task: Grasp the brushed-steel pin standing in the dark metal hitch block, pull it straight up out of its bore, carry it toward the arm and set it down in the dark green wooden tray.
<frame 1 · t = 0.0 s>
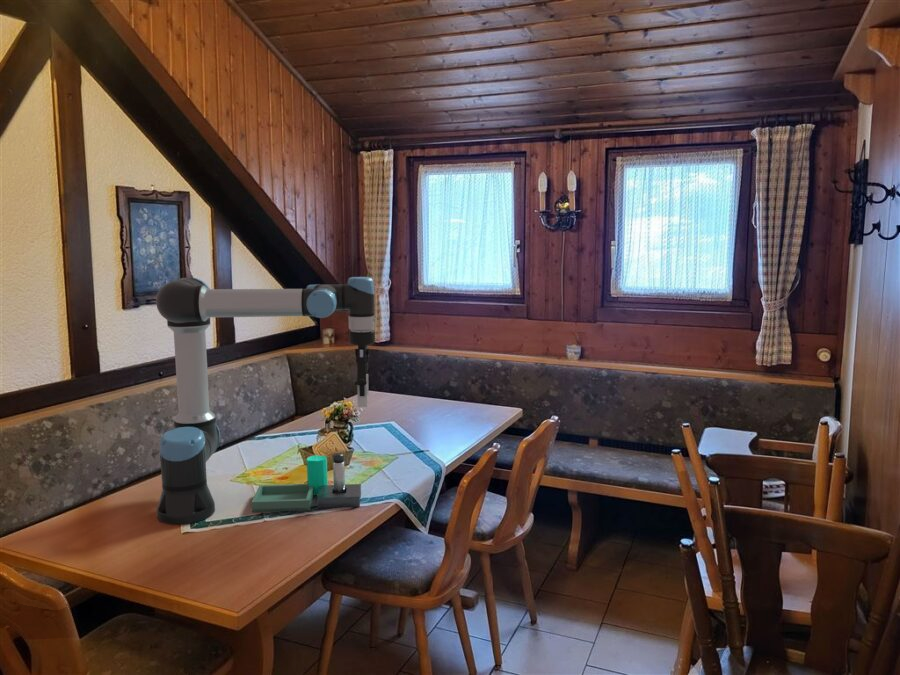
hand: (363, 400, 214), 28 cm above the table, fingers open, 13 cm apart
pin: (339, 477, 209), in the hitch block
candle: (317, 492, 217), on the table, touching hitch block, tray
tray: (284, 502, 209), on the table
hitch block: (339, 500, 211), on the table
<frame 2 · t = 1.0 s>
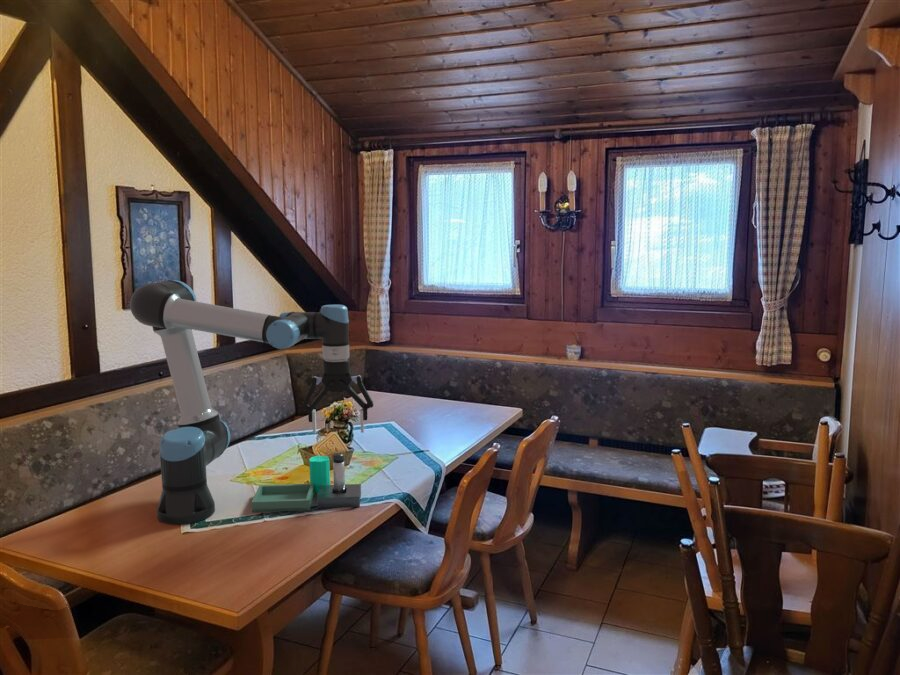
hand: (338, 432, 207), 21 cm above the table, fingers open, 13 cm apart
candle: (320, 492, 219), on the table, touching tray
everything else where it was.
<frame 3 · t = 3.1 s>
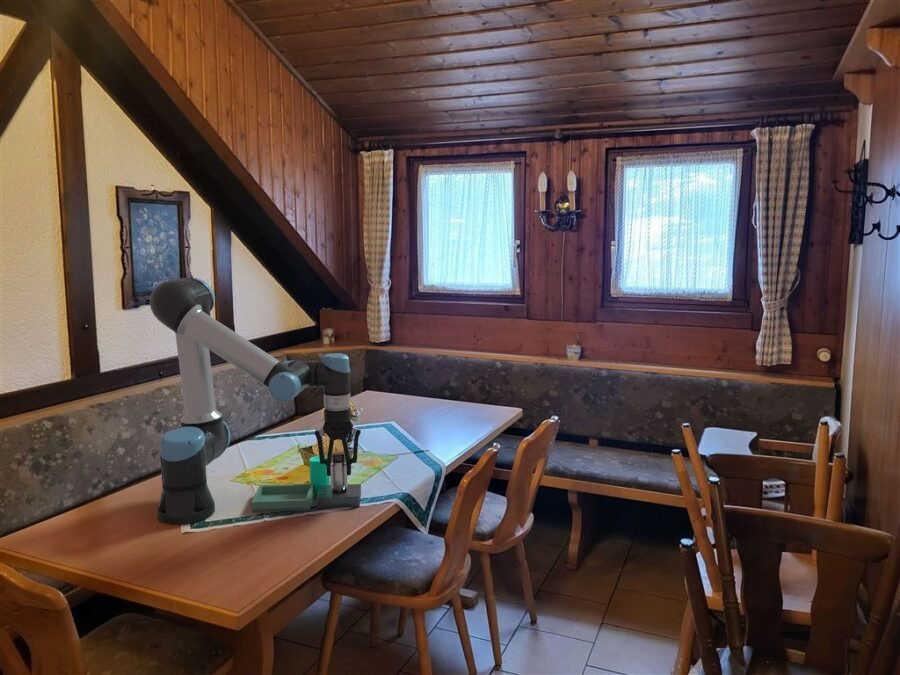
hand: (339, 485, 210), 5 cm above the table, fingers closed on pin, 3 cm apart
pin: (339, 477, 209), in the hitch block, touching gripper
everything else where it was.
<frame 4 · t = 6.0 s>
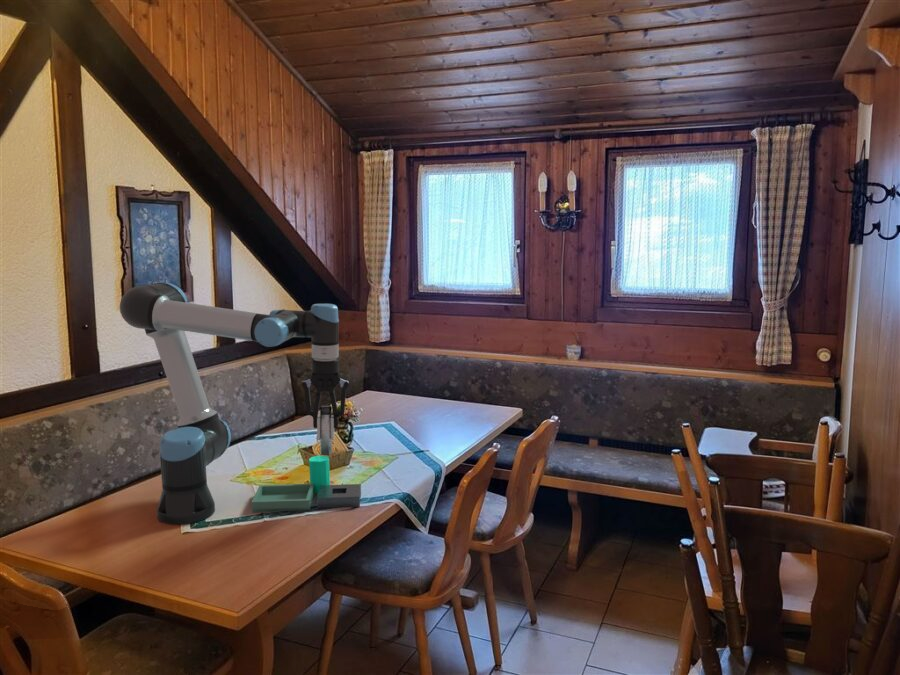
hand: (325, 438, 207), 19 cm above the table, fingers closed on pin, 3 cm apart
pin: (325, 430, 207), point 21 cm above the table, touching gripper
everything else where it was.
when the fingers open (7 cm above the table, at t = 9.2 s): pin drops 1 cm, resting on tray.
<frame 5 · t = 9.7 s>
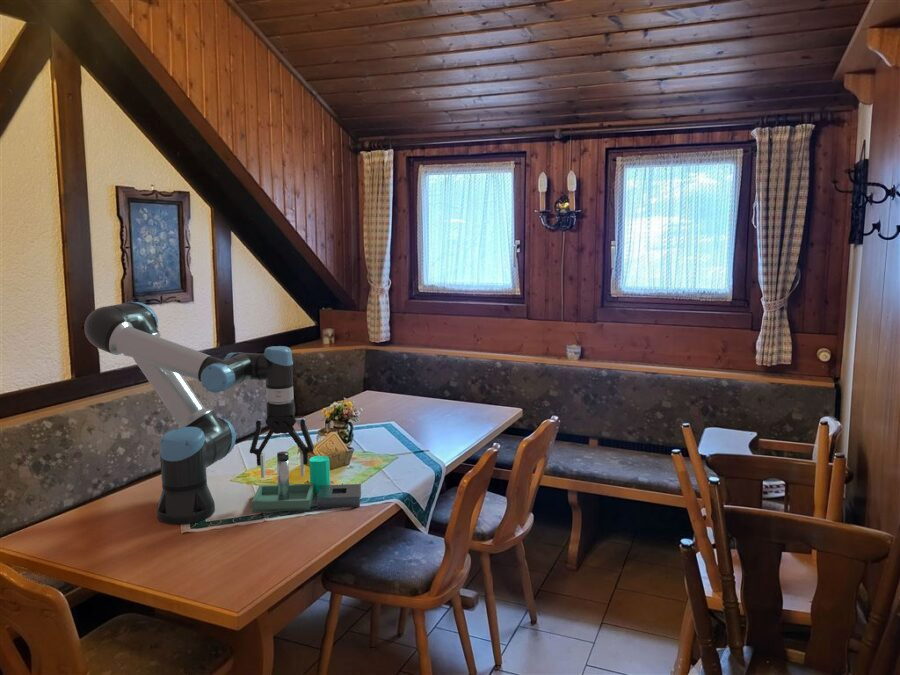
hand: (283, 475, 208), 8 cm above the table, fingers open, 10 cm apart
pin: (283, 476, 208), in the tray, point 8 cm above the table
everything else where it was.
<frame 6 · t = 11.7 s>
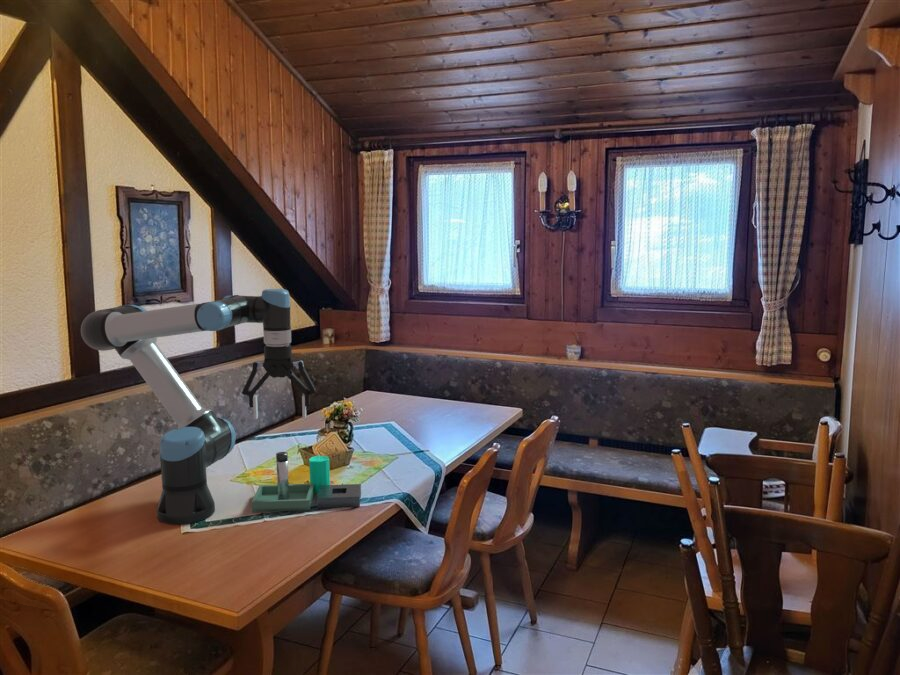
hand: (280, 417, 205), 25 cm above the table, fingers open, 13 cm apart
nothing on the table moved.
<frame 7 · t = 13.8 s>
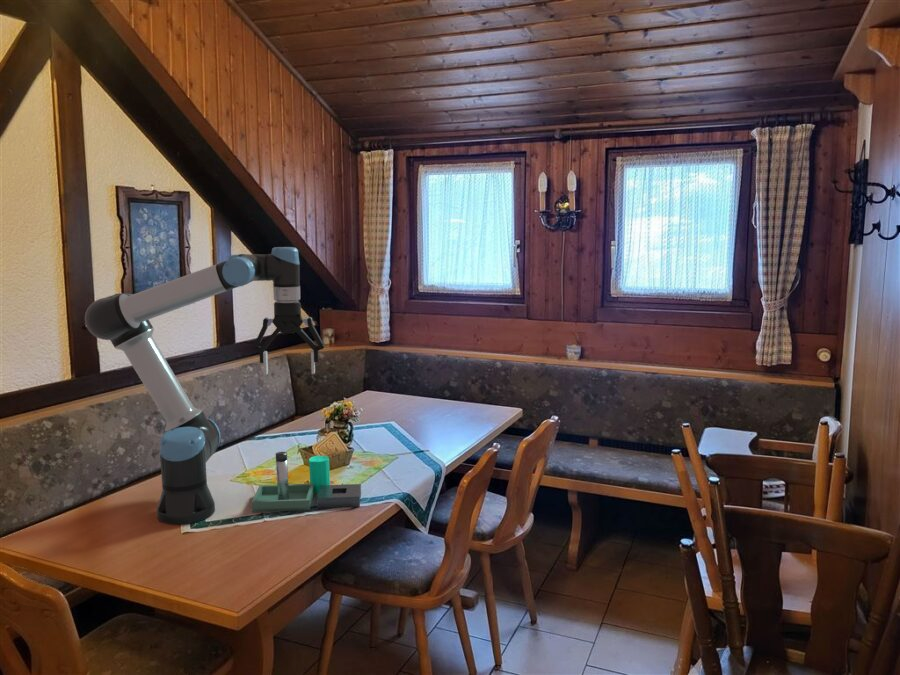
hand: (289, 373, 210), 37 cm above the table, fingers open, 13 cm apart
nothing on the table moved.
at the end: pin inside the target area on the tray (0.1 cm from its centre), point 7.8 cm above the tray's base; pin touching tray; the gripper is holding nothing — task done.
